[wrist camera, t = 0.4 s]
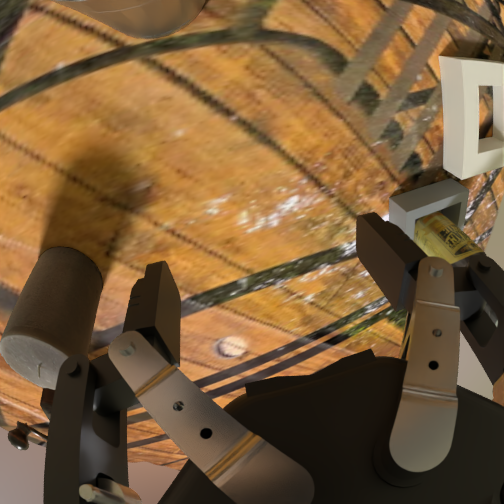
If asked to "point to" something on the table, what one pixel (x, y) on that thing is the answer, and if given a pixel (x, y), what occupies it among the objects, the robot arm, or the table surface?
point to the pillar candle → (52, 315)
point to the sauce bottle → (447, 244)
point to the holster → (429, 204)
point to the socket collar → (471, 115)
